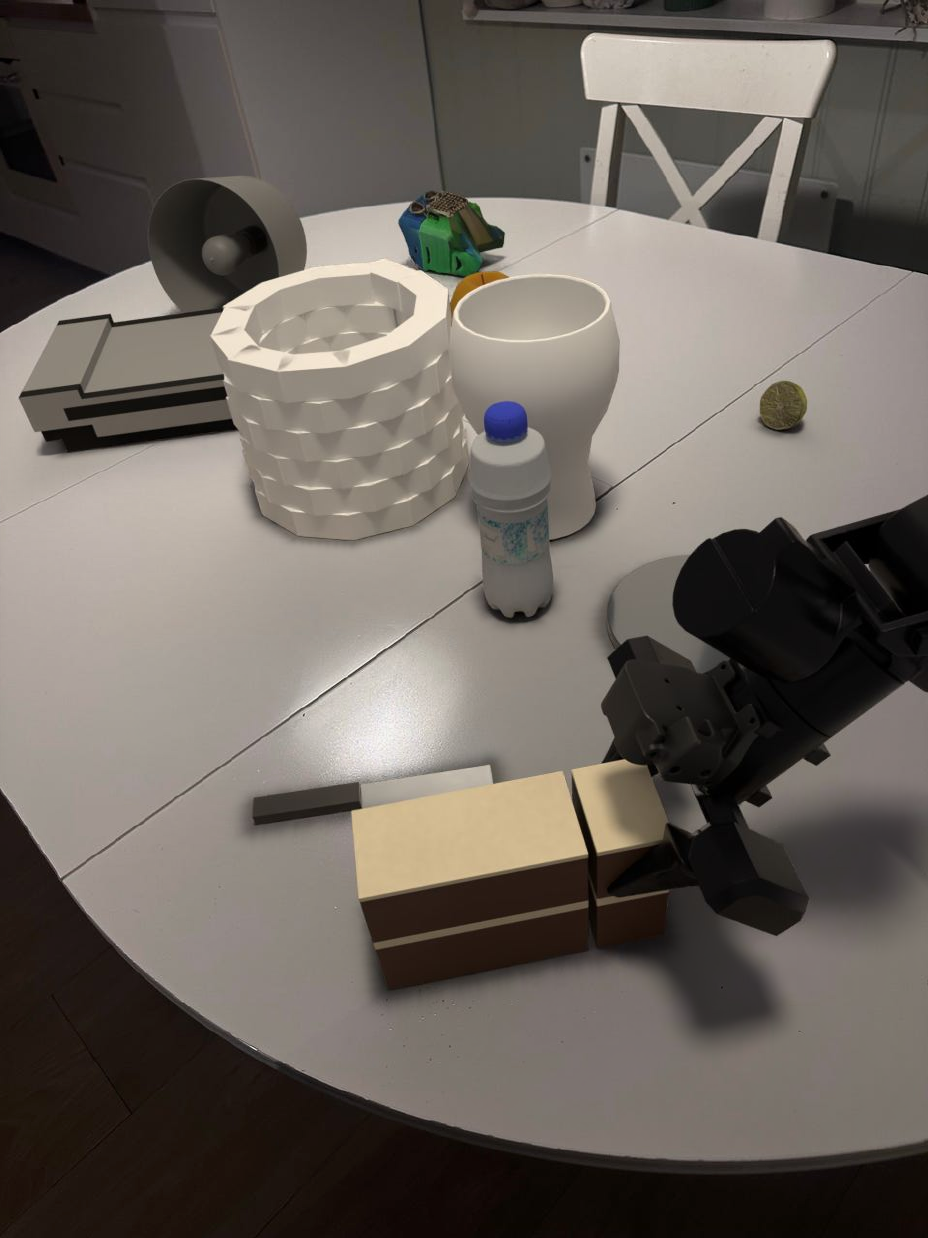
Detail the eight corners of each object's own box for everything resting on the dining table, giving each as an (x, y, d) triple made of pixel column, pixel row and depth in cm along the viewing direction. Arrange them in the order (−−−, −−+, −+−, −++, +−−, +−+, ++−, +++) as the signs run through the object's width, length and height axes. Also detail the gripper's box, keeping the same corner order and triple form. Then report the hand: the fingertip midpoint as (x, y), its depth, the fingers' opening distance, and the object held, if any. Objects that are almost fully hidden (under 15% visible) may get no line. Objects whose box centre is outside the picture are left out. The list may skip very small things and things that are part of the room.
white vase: (631, 475, 97) (637, 273, 82) (596, 565, 87) (596, 353, 72) (494, 459, 102) (477, 266, 87) (445, 543, 91) (417, 339, 77)
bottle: (472, 590, 86) (449, 398, 72) (538, 569, 87) (527, 376, 74) (499, 635, 81) (480, 438, 68) (568, 612, 82) (563, 414, 69)
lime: (804, 435, 99) (812, 393, 96) (758, 434, 100) (763, 393, 97) (802, 413, 103) (809, 372, 99) (757, 413, 104) (762, 372, 100)
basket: (351, 571, 90) (310, 397, 77) (212, 488, 103) (158, 328, 90) (521, 455, 102) (510, 288, 89) (377, 394, 115) (350, 242, 102)
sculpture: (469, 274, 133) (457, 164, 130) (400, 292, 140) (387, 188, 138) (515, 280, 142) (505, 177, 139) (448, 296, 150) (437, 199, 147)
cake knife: (490, 767, 70) (489, 758, 70) (494, 792, 69) (493, 784, 68) (256, 802, 70) (253, 794, 69) (255, 828, 68) (251, 820, 68)
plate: (810, 583, 82) (813, 573, 81) (779, 711, 72) (781, 701, 71) (635, 551, 88) (635, 541, 87) (582, 665, 77) (582, 655, 77)
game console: (309, 422, 112) (294, 359, 106) (47, 458, 111) (18, 397, 106) (313, 345, 127) (300, 287, 121) (82, 377, 127) (59, 320, 121)
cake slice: (637, 856, 64) (643, 755, 56) (665, 935, 59) (675, 837, 52) (573, 869, 63) (571, 769, 56) (596, 949, 59) (597, 852, 51)
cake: (566, 870, 63) (562, 770, 56) (588, 950, 59) (588, 854, 51) (379, 906, 63) (350, 810, 55) (388, 991, 58) (358, 899, 51)
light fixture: (256, 173, 117) (345, 140, 138) (96, 187, 126) (202, 153, 146) (291, 333, 129) (369, 280, 149) (142, 335, 137) (235, 285, 158)
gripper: (645, 527, 53) (472, 694, 59) (781, 786, 39) (536, 964, 46) (761, 605, 58) (591, 749, 65) (915, 854, 45) (680, 1003, 51)
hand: (597, 848), depth 57 cm, fingers closed on cake slice, 6 cm apart
